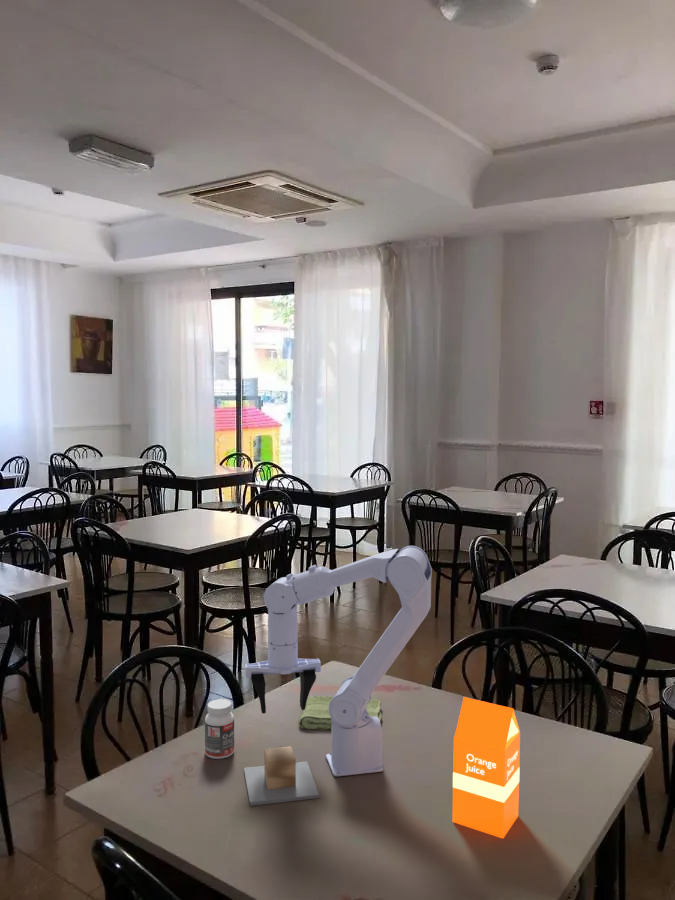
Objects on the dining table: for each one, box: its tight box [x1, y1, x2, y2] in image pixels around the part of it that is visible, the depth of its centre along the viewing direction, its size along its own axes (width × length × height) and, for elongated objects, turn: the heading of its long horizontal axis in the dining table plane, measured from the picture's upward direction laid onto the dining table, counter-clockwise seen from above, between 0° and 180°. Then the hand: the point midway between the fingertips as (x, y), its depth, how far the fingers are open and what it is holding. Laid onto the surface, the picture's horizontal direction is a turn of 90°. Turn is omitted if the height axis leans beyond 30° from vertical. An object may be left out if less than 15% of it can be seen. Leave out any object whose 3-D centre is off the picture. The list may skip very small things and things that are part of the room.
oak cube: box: [263, 745, 297, 789], centre depth 134 cm, size 5×5×5 cm
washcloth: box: [298, 695, 382, 731], centre depth 161 cm, size 13×18×3 cm
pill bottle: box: [204, 698, 235, 760], centre depth 145 cm, size 6×6×10 cm
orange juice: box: [451, 696, 521, 839], centre depth 123 cm, size 8×9×20 cm
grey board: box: [243, 761, 320, 807], centre depth 134 cm, size 12×12×1 cm
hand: (283, 709), depth 144 cm, fingers open, 7 cm apart
